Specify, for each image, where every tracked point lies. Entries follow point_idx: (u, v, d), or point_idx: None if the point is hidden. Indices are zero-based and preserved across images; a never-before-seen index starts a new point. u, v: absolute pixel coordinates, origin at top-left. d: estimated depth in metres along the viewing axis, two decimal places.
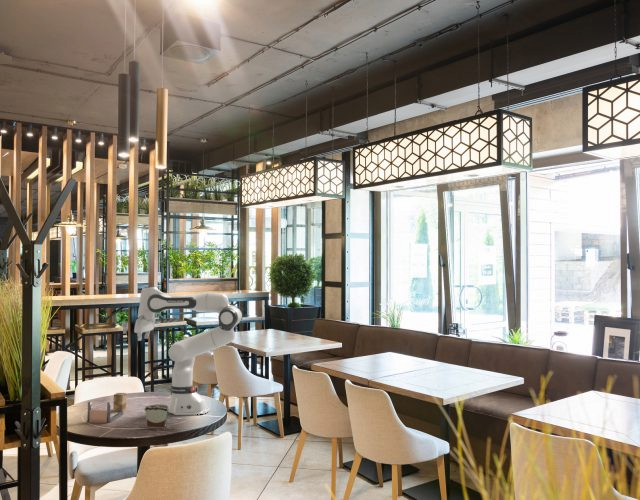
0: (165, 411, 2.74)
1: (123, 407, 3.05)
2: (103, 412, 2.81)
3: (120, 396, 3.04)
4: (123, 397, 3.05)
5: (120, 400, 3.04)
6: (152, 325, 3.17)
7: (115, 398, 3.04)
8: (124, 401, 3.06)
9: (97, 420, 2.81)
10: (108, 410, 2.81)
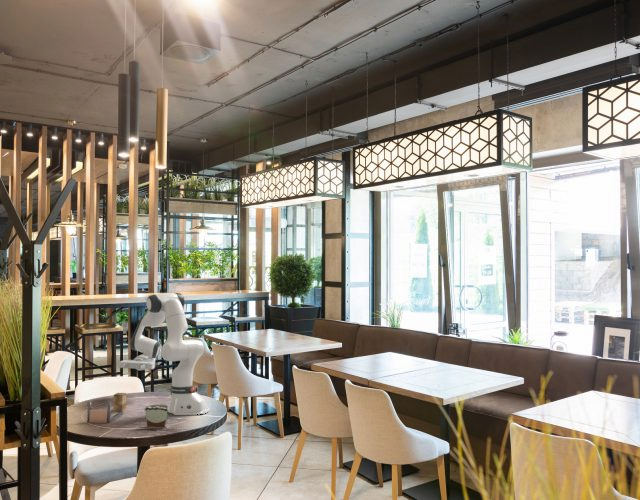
0: (165, 411, 2.74)
1: (123, 407, 3.05)
2: (103, 412, 2.81)
3: (120, 396, 3.04)
4: (123, 397, 3.05)
5: (120, 400, 3.04)
6: (148, 362, 3.30)
7: (115, 398, 3.04)
8: (124, 401, 3.06)
9: (97, 420, 2.81)
10: (108, 410, 2.81)
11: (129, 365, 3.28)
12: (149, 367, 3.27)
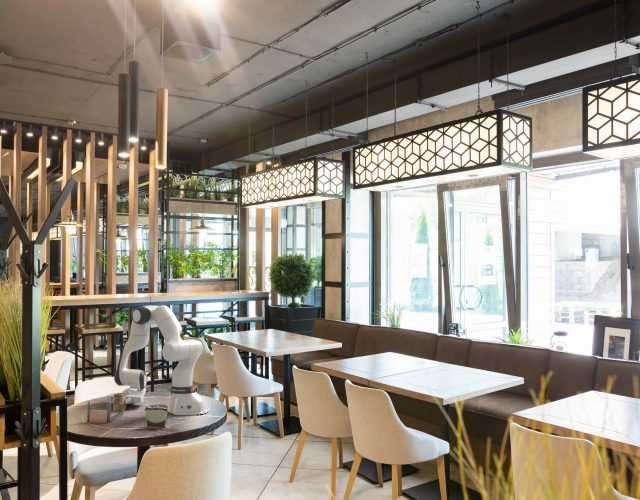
0: (165, 411, 2.74)
1: (123, 407, 3.05)
2: (103, 412, 2.81)
3: (120, 396, 3.04)
4: (123, 397, 3.05)
5: (120, 400, 3.04)
6: (137, 395, 3.13)
7: (115, 398, 3.04)
8: None
9: (97, 420, 2.81)
10: (108, 410, 2.81)
11: None
12: (137, 401, 3.09)
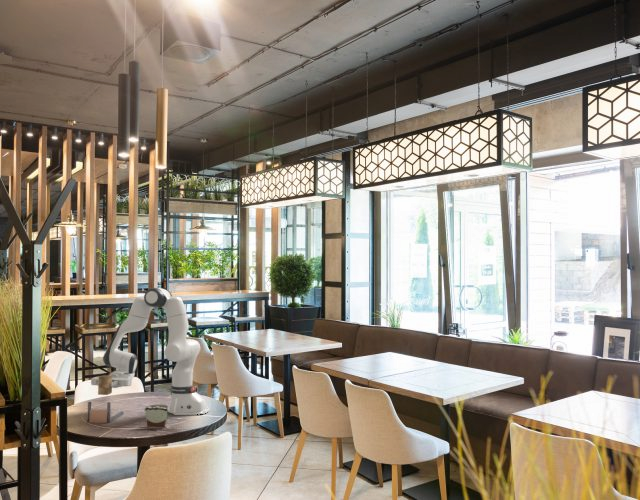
0: (165, 411, 2.74)
1: (109, 390, 2.88)
2: (103, 412, 2.81)
3: (105, 378, 2.86)
4: (109, 380, 2.88)
5: (105, 382, 2.86)
6: (123, 378, 2.95)
7: (100, 381, 2.87)
8: None
9: (97, 420, 2.81)
10: (108, 410, 2.81)
11: None
12: (124, 384, 2.92)
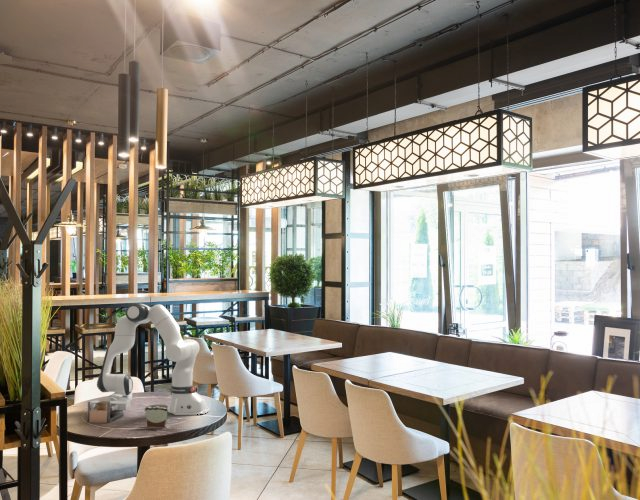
0: (165, 411, 2.74)
1: None
2: (103, 412, 2.81)
3: (103, 405, 2.84)
4: None
5: (103, 408, 2.84)
6: (121, 402, 2.93)
7: (98, 407, 2.84)
8: None
9: (97, 420, 2.81)
10: (108, 410, 2.81)
11: None
12: (122, 408, 2.90)
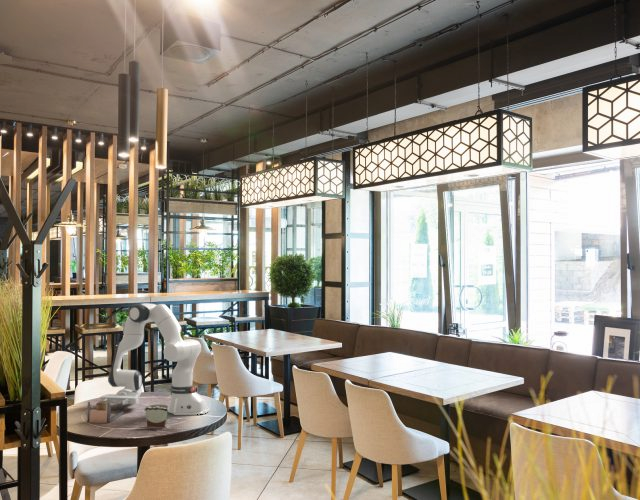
0: (165, 411, 2.74)
1: None
2: (103, 412, 2.81)
3: (103, 405, 2.84)
4: (106, 406, 2.85)
5: (103, 408, 2.84)
6: (131, 396, 3.05)
7: (98, 407, 2.84)
8: None
9: (97, 420, 2.81)
10: (108, 410, 2.81)
11: (111, 400, 3.04)
12: (132, 402, 3.02)
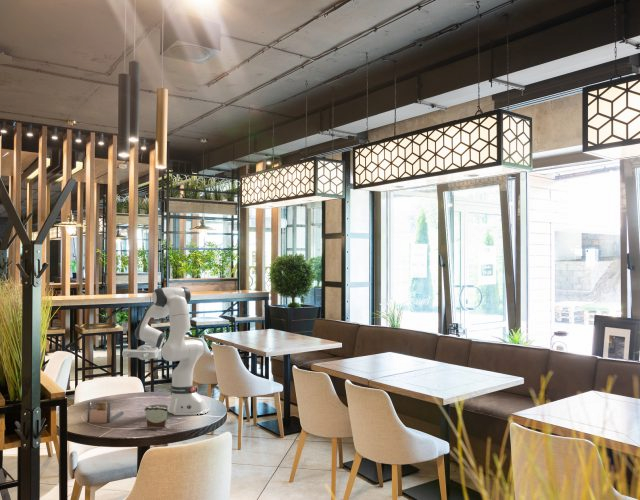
0: (165, 411, 2.74)
1: None
2: (103, 412, 2.81)
3: (103, 405, 2.84)
4: (106, 406, 2.85)
5: (103, 408, 2.84)
6: (151, 351, 3.28)
7: (98, 407, 2.84)
8: None
9: (97, 420, 2.81)
10: (108, 410, 2.81)
11: (132, 354, 3.27)
12: (152, 356, 3.25)
